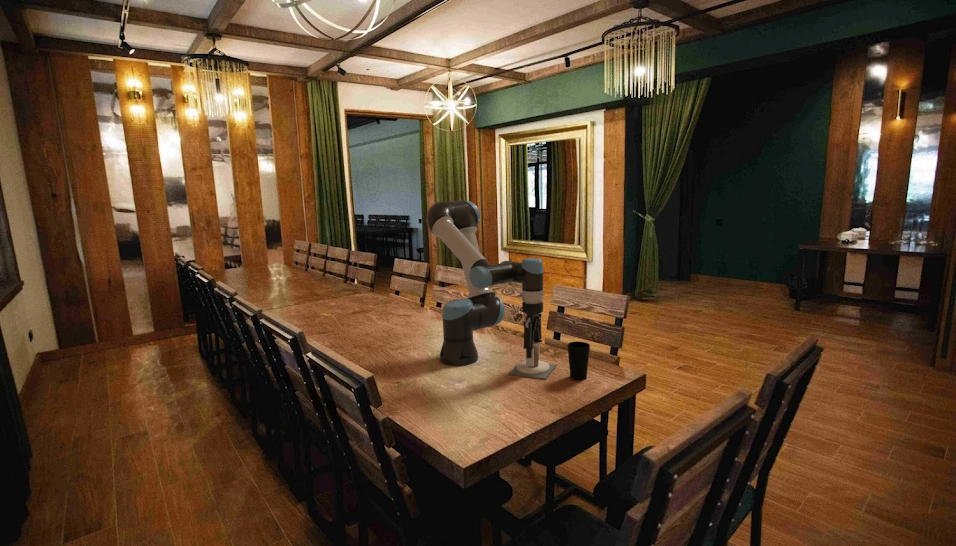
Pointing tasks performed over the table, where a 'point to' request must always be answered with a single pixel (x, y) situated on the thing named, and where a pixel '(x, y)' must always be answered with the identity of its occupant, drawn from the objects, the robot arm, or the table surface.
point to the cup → (578, 360)
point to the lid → (538, 367)
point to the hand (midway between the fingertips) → (532, 362)
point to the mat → (540, 376)
